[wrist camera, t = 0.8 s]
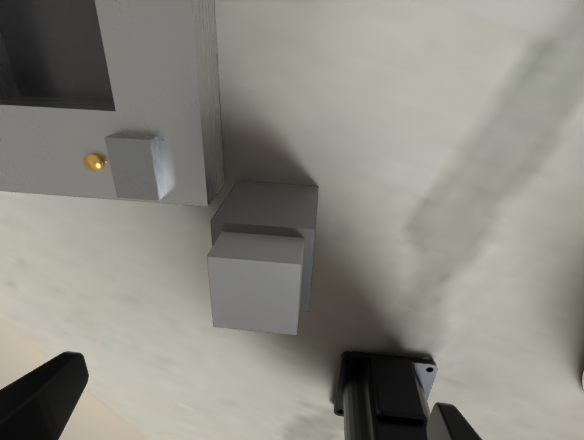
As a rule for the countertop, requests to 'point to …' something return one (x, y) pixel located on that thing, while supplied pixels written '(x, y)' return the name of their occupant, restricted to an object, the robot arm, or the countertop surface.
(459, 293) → the countertop surface
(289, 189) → the plug
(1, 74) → the faceplate
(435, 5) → the countertop surface
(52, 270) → the countertop surface
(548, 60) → the countertop surface
